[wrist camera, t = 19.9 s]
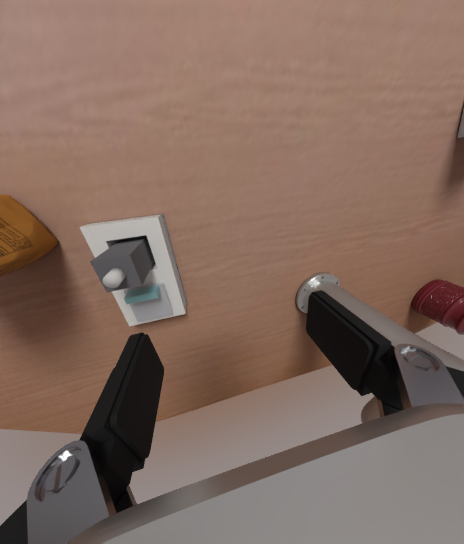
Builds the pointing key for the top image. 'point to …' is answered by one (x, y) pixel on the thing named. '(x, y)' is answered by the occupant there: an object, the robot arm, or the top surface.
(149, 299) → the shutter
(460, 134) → the supplement box
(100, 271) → the plug
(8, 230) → the coffee package
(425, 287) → the canister
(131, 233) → the socket
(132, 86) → the top surface
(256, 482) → the robot arm
